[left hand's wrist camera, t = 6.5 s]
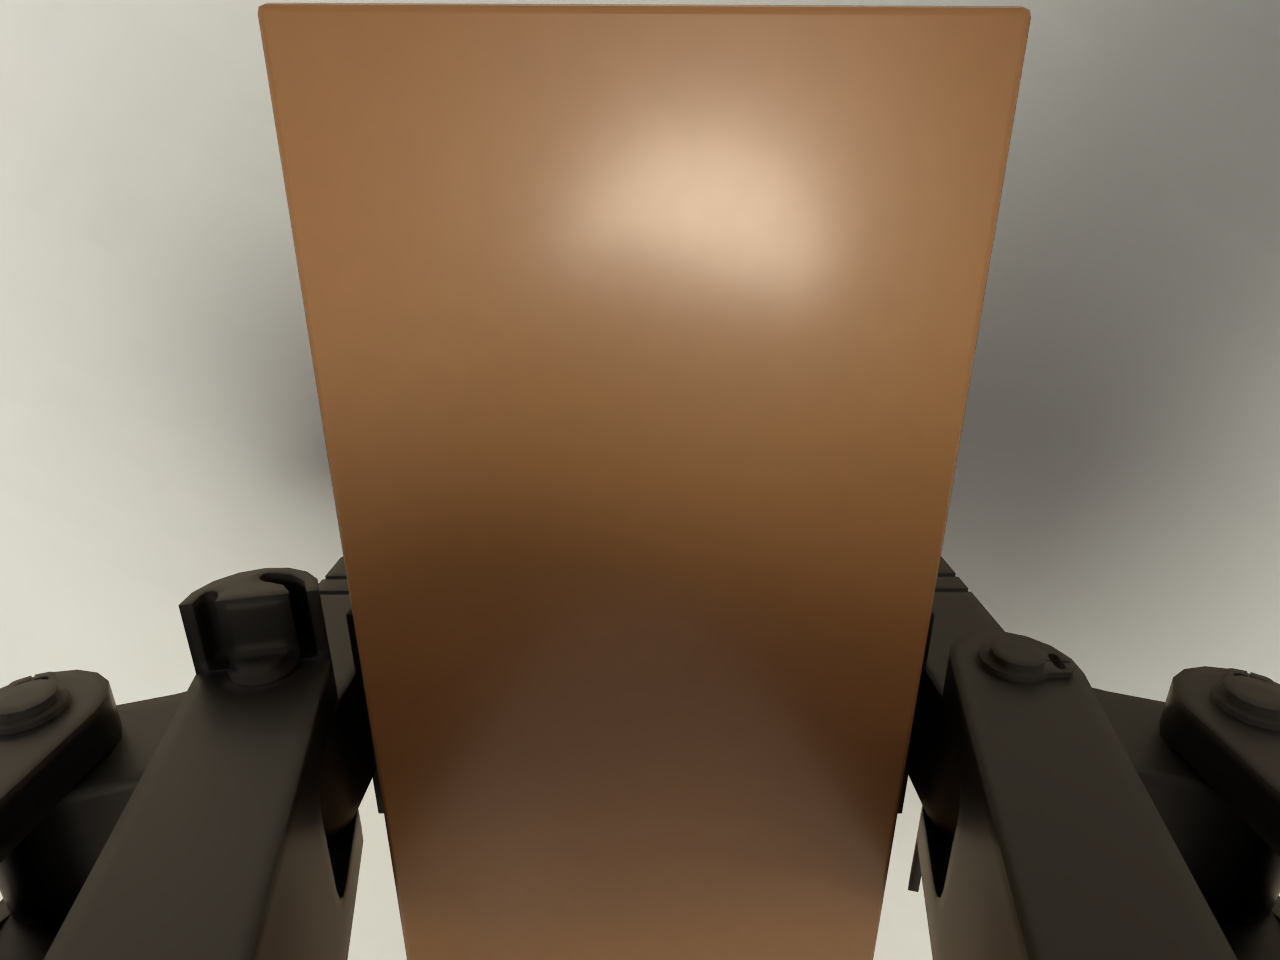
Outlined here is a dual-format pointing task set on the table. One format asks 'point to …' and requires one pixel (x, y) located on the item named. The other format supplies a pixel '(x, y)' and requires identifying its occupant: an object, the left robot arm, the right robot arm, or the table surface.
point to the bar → (642, 442)
